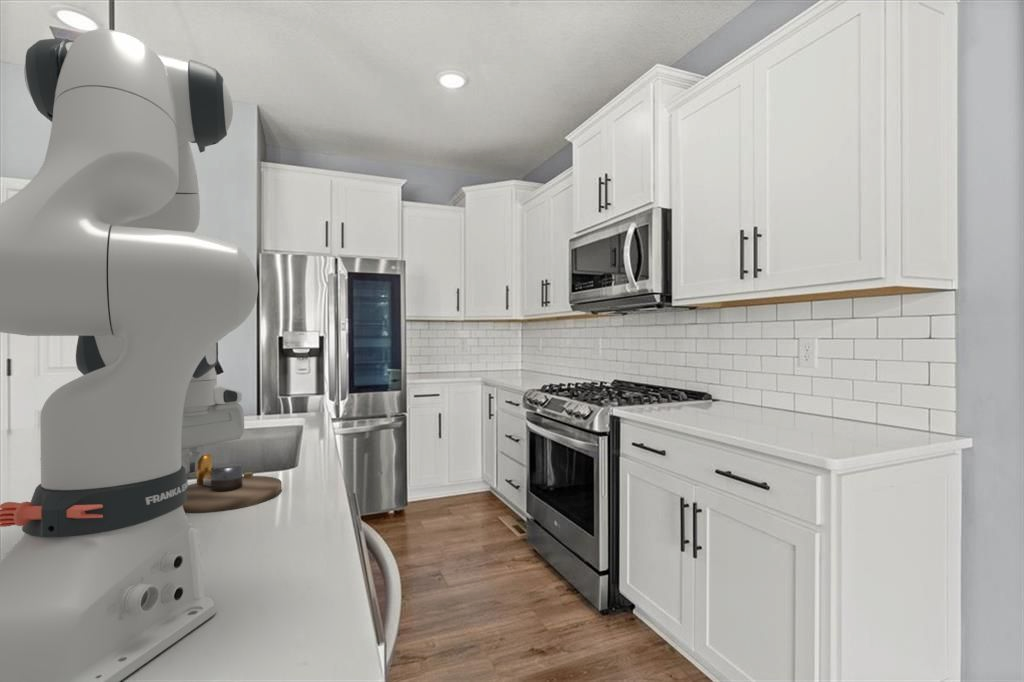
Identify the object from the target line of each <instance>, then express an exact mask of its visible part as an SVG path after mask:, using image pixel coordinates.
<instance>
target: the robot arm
mask: <svg viewBox="0 0 1024 682" xmlns="http://www.w3.org/2000/svg"><path fill="white" fill-rule="evenodd" d="M23 72H24V73H23V75H24V76H23V77H24V82H25V85H26V88H27V91H28V94H29V97H31V99H32V101H33V103H34V105H35V107H36V109H37V111H38V112H39V113H40V114H41V115H42V116H43V117H44V118H46V119H47V120H49V121H50V122H51V128H50V133H49V134H50V135H49V141H48V145H47V150H46V153H45V157H44V161H43V163H42V165H41V167H40V168H39V170H38V172H37V174H35V176H34V177H33V178H32V179H30V181H28V183H27V184H26V185H25V186H24V187H23V188H21V189H20V190H19V191H17V193H15V194H14V195H12V196H11V197H9V198H8V199H6V200H5V201H3V202H1V203H0V333H3V334H11V335H20V336H27V337H34V336H35V337H38V336H39V337H40V336H41V337H42V336H43V337H44V336H45V337H51V336H52V337H57V336H59V337H61V336H62V337H63V336H64V337H68V336H70V337H72V336H74V337H76V336H77V342H76V351H75V364H76V368H77V370H78V371H79V372H80V373H81V374H82V375H81V376H79V377H77V378H74V379H73V380H70V381H69V382H67V383H65V384H63V385H61V386H60V387H58V388H57V389H56V390H54V392H52V393H51V394H50V395H49V396H48V398H47V399H46V401H45V402H44V404H43V406H42V408H41V410H40V415H39V418H40V426H39V427H40V429H39V430H40V432H39V433H40V484H38V485H37V486H36V488H35V489H34V492H33V494H32V497H31V500H30V501H23V502H16V501H15V502H14V501H13V502H12V501H6V502H3V503H1V504H0V528H3V527H4V528H6V527H11V526H17V527H21V531H22V532H23V535H22V537H20V539H19V540H18V541H17V543H16V544H15V545H13V547H12V548H11V549H10V550H9V551H8V552H7V553H6V555H5V556H3V558H2V559H1V560H0V682H121V681H122V680H123V679H125V678H127V677H128V676H129V675H131V674H132V673H134V672H135V671H137V670H138V669H140V668H141V667H143V666H144V665H145V664H146V663H148V662H149V661H150V660H152V659H153V658H155V657H156V656H157V655H159V654H161V653H162V652H163V651H165V650H167V648H169V647H171V646H172V645H173V644H175V643H176V642H178V641H179V640H181V639H182V638H183V637H185V636H186V635H188V633H190V632H191V631H193V630H195V629H196V628H197V627H199V626H200V625H202V624H203V623H204V622H206V621H207V620H209V619H210V618H212V617H213V616H214V615H215V614H216V612H217V610H216V608H217V607H216V602H215V600H214V599H212V598H210V597H209V596H207V595H205V588H204V578H203V569H202V560H201V553H200V543H199V534H198V531H197V529H196V528H195V526H194V525H192V523H191V521H190V520H189V518H188V516H187V514H186V512H185V511H184V509H183V504H184V503H185V502H186V500H187V487H188V485H189V484H188V483H189V482H188V480H189V479H188V478H187V475H188V474H192V473H197V470H198V461H199V459H200V458H201V456H202V454H204V452H205V448H204V447H205V446H209V445H214V444H219V443H225V442H231V441H236V440H240V439H241V438H242V437H243V436H244V433H245V416H244V415H245V414H244V409H243V408H244V407H243V406H242V404H241V402H242V399H243V396H242V395H243V393H242V392H241V391H240V390H237V389H232V388H230V387H229V388H228V387H226V386H222V385H218V384H217V382H218V381H217V380H218V379H217V374H216V371H215V370H216V369H215V367H216V366H217V364H218V361H219V342H220V341H221V340H222V339H223V338H225V337H226V336H227V335H228V334H230V333H231V332H233V331H235V330H236V329H237V328H239V327H240V326H242V324H243V323H244V322H245V321H246V320H247V318H248V317H249V316H251V313H252V312H253V309H254V308H255V305H256V303H257V299H258V293H259V280H258V276H257V272H256V269H255V267H254V265H253V263H252V261H251V259H250V258H249V256H248V255H247V253H246V252H245V251H244V250H243V249H242V248H241V247H240V246H239V245H238V244H237V243H233V242H230V241H227V240H222V239H220V238H216V237H214V236H213V237H212V236H209V235H204V234H199V233H197V232H196V231H197V229H198V227H199V224H200V217H201V215H200V214H201V201H200V193H199V192H200V189H199V182H198V181H199V180H198V175H197V168H196V164H195V159H194V156H193V151H192V148H191V144H197V147H198V152H199V153H203V152H206V147H210V146H213V145H216V144H218V143H219V142H221V141H222V140H223V139H224V138H226V136H228V130H229V128H230V126H231V124H232V121H233V114H234V109H233V107H234V106H233V101H232V96H231V95H230V91H229V89H228V87H227V85H226V84H225V82H224V77H223V75H221V74H220V73H219V71H218V70H217V69H216V68H214V67H212V66H210V65H208V64H205V63H202V62H199V61H196V60H193V59H189V61H186V60H184V59H180V58H176V57H172V56H168V55H166V54H161V53H156V52H155V51H154V50H153V49H152V47H150V46H149V45H148V44H146V43H145V42H143V41H142V40H141V39H139V38H136V37H135V36H133V35H130V34H128V33H125V32H123V31H119V30H114V29H109V28H108V29H103V28H102V29H101V28H100V29H93V30H92V29H91V30H89V31H86V32H83V33H82V34H80V35H79V36H77V38H75V39H74V41H73V42H72V41H71V40H70V39H68V38H46V39H45V38H44V39H40V40H38V41H36V42H35V43H33V45H31V46H30V47H29V48H28V49H27V51H26V53H25V62H24V71H23ZM190 143H191V144H190ZM190 453H191V454H190ZM188 455H190V456H189V458H188Z"/></svg>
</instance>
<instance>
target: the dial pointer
mask: <svg viewBox="0 0 1024 682" xmlns="http://www.w3.org/2000/svg"><path fill="white" fill-rule="evenodd" d="M212 465H213V464H212V454H211V453H203V454H202V456H201V458H200V459H199V461H198V470H197V471H196V483H197V485H209V486H211V489H212V490H216V491H222V490H230V489H235V488H239V487H241V486H242V485H243V476H244V473H243V464H241V463H227V464H226V463H225V464H219V465H215V466H212Z"/></svg>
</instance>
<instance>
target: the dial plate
mask: <svg viewBox="0 0 1024 682" xmlns="http://www.w3.org/2000/svg"><path fill="white" fill-rule="evenodd" d="M282 483H283V482H282V481H281V480H280V479H279V478H276V477H273V476H267V475H264V476H263V475H254V472H244V473H243V485H242V486H241V487H239V488H235V489H230V490H222V491H216V490H212V489H211V486H209V485H197V482H195V483H192V484H191V483H190V484H188V487H187V500H186V502H185V503H184V504H183V509H184V511H185V513H189V514H190V513H195V514H196V513H197V514H199V513H213V512H223V511H230V510H231V511H232V510H236V509H241V508H247V507H250V506H255V505H257V504H261V503H264V502H267V501H271V500H272V499H275V498H276V497H277V496H279V495H280V494H281V493H282V490H283V489H282V486H283V485H282Z"/></svg>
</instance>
